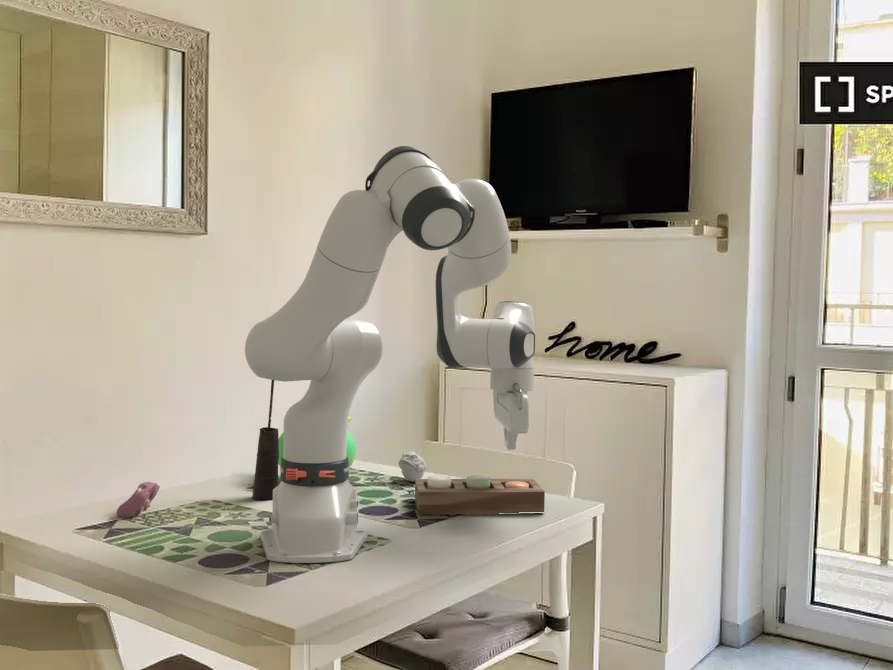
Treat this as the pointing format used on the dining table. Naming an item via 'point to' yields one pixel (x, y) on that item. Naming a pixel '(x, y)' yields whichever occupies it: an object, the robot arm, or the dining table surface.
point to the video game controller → (139, 500)
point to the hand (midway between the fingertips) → (510, 448)
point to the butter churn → (267, 459)
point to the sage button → (478, 482)
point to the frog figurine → (412, 466)
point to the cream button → (439, 482)
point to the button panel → (479, 498)
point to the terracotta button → (516, 484)
